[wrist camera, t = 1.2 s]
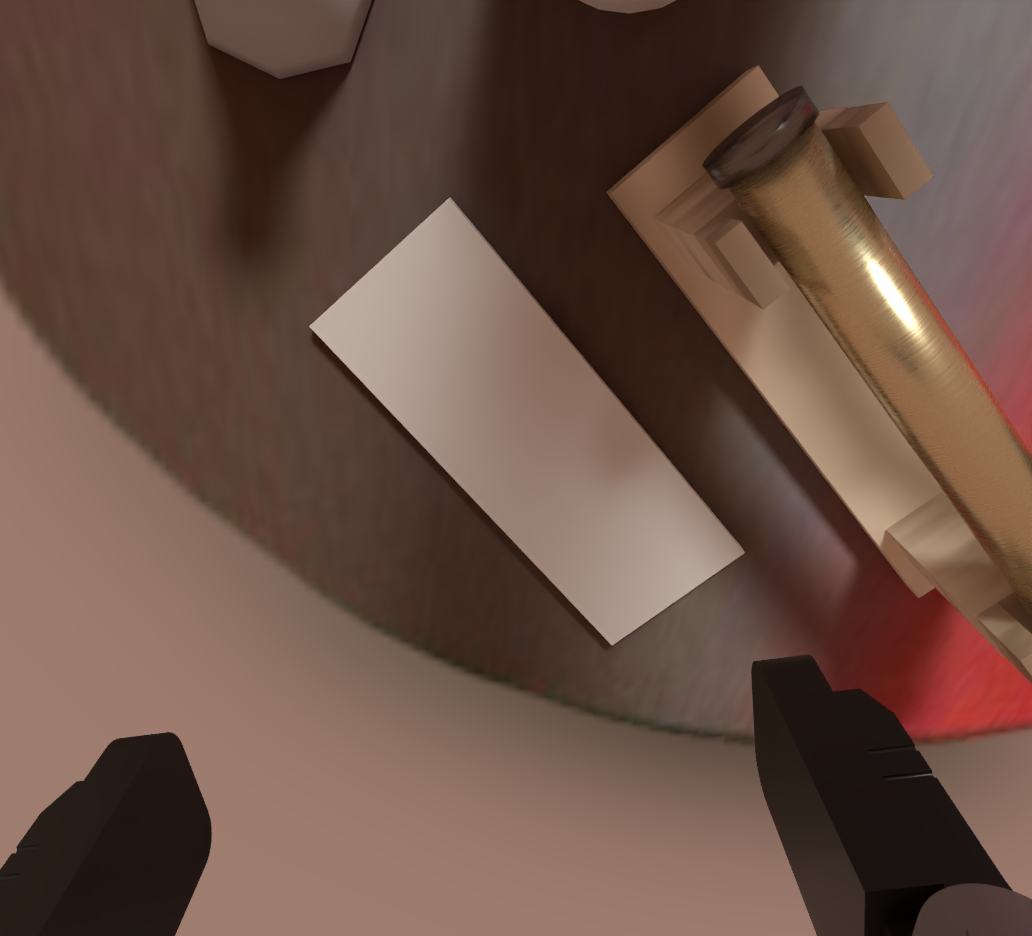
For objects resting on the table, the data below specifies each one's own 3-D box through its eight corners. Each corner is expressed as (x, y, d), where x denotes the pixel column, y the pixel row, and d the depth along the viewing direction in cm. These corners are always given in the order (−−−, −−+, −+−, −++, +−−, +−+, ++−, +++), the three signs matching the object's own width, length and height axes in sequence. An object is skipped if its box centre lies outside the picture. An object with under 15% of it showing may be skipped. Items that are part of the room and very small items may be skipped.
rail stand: (747, 69, 31) (877, 20, 20) (1033, 498, 38) (1247, 638, 27) (606, 192, 33) (654, 209, 22) (904, 582, 39) (1056, 747, 28)
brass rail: (691, 166, 24) (717, 167, 21) (780, 90, 23) (820, 81, 20) (1049, 664, 31) (1107, 719, 28) (1127, 618, 30) (1195, 669, 27)
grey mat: (450, 196, 33) (448, 198, 32) (740, 545, 39) (745, 552, 38) (313, 322, 35) (309, 326, 34) (610, 636, 40) (612, 645, 40)
